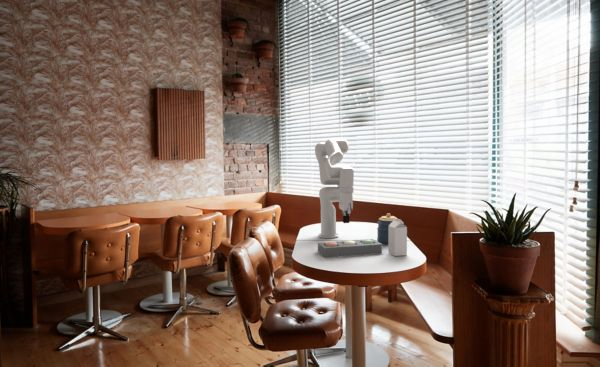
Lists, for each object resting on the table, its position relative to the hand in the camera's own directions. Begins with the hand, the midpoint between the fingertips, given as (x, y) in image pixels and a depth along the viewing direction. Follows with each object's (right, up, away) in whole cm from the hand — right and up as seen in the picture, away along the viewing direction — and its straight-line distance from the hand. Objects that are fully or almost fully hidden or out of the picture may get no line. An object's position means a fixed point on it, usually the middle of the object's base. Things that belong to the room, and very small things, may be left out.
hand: (346, 222), depth 232 cm
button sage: (+12, -12, -2) cm, 17 cm away
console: (+1, -16, -4) cm, 16 cm away
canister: (+27, -14, +18) cm, 35 cm away
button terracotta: (-9, -13, -7) cm, 17 cm away
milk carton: (+26, -16, -9) cm, 32 cm away
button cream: (+1, -13, -4) cm, 13 cm away
